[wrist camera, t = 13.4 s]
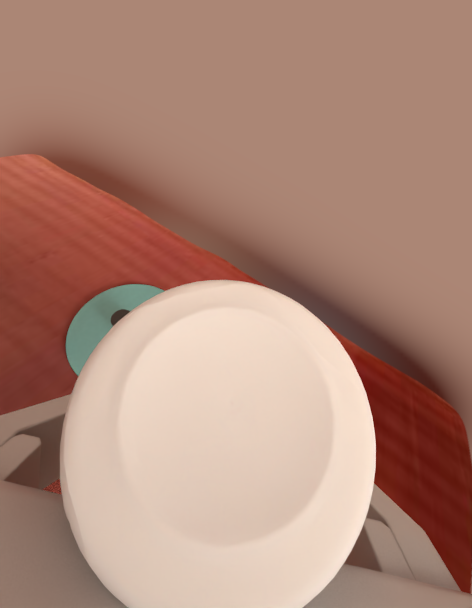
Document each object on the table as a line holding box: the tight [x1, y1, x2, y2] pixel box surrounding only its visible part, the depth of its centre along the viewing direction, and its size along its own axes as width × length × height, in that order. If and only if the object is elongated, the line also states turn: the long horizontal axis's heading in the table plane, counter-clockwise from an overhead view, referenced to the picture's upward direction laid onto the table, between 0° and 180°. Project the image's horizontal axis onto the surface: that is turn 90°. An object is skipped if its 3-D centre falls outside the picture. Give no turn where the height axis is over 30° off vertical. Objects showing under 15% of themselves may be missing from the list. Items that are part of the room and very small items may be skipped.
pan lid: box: [66, 284, 164, 376], centre depth 32 cm, size 16×16×5 cm
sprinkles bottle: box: [60, 280, 376, 608], centre depth 9 cm, size 5×5×13 cm
